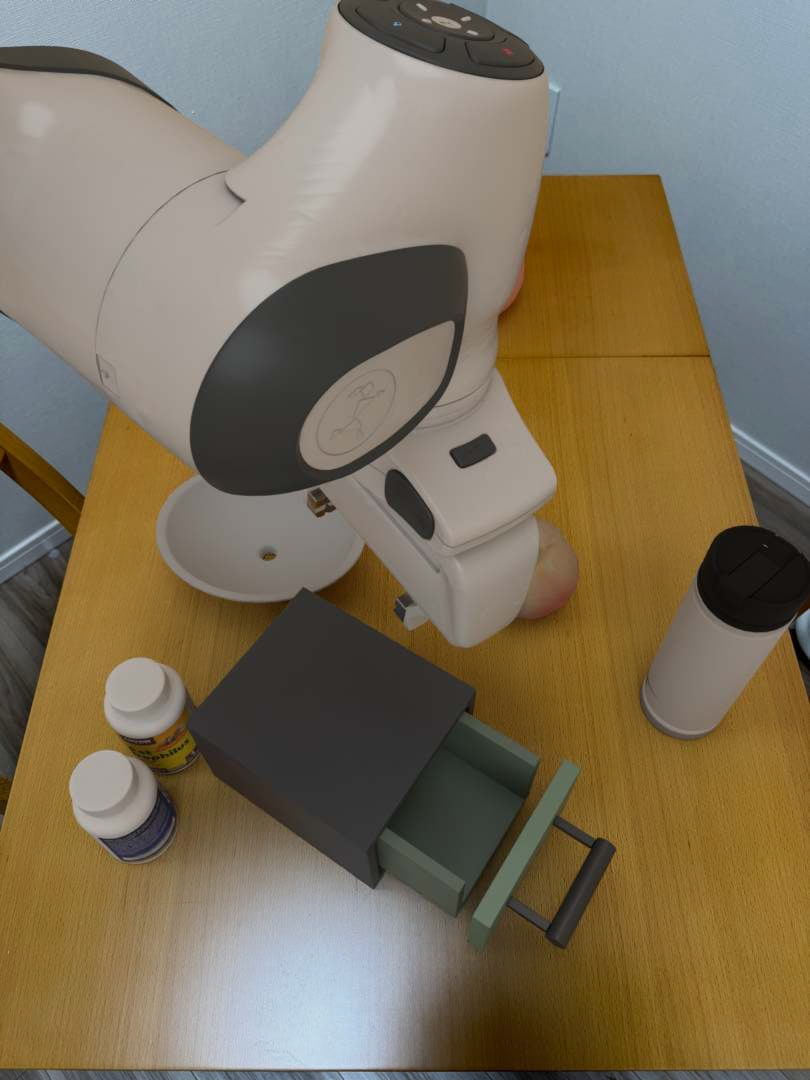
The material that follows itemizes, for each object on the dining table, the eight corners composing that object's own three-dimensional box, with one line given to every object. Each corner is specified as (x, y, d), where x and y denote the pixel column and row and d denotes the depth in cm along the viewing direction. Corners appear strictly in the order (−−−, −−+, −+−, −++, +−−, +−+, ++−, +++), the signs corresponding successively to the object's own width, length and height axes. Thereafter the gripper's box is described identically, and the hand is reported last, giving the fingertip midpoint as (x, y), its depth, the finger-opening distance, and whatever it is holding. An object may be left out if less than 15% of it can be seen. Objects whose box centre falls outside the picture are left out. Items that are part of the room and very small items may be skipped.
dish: (144, 613, 72) (127, 581, 67) (200, 481, 80) (188, 446, 76) (349, 648, 69) (344, 617, 65) (386, 509, 77) (383, 474, 73)
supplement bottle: (136, 785, 63) (92, 731, 55) (132, 716, 66) (90, 655, 58) (212, 767, 64) (180, 711, 55) (204, 700, 67) (173, 638, 59)
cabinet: (470, 744, 65) (476, 689, 57) (374, 890, 59) (366, 851, 51) (316, 648, 69) (302, 586, 62) (213, 775, 63) (183, 723, 56)
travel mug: (619, 700, 66) (684, 557, 50) (674, 651, 69) (754, 498, 52) (682, 760, 64) (773, 628, 47) (738, 706, 66) (843, 563, 50)
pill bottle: (195, 808, 62) (161, 759, 54) (152, 878, 59) (110, 837, 51) (133, 778, 63) (91, 725, 55) (89, 845, 61) (38, 800, 53)
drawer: (618, 840, 59) (642, 804, 53) (539, 993, 54) (554, 974, 48) (407, 709, 65) (405, 662, 59) (316, 835, 60) (304, 799, 54)
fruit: (499, 649, 69) (507, 598, 63) (459, 572, 73) (462, 516, 67) (586, 616, 71) (603, 563, 64) (542, 542, 75) (553, 485, 68)
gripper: (218, 282, 43) (228, 466, 54) (475, 567, 34) (425, 717, 45) (323, 248, 46) (313, 429, 57) (585, 504, 37) (513, 659, 48)
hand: (364, 559), depth 51 cm, fingers open, 8 cm apart
